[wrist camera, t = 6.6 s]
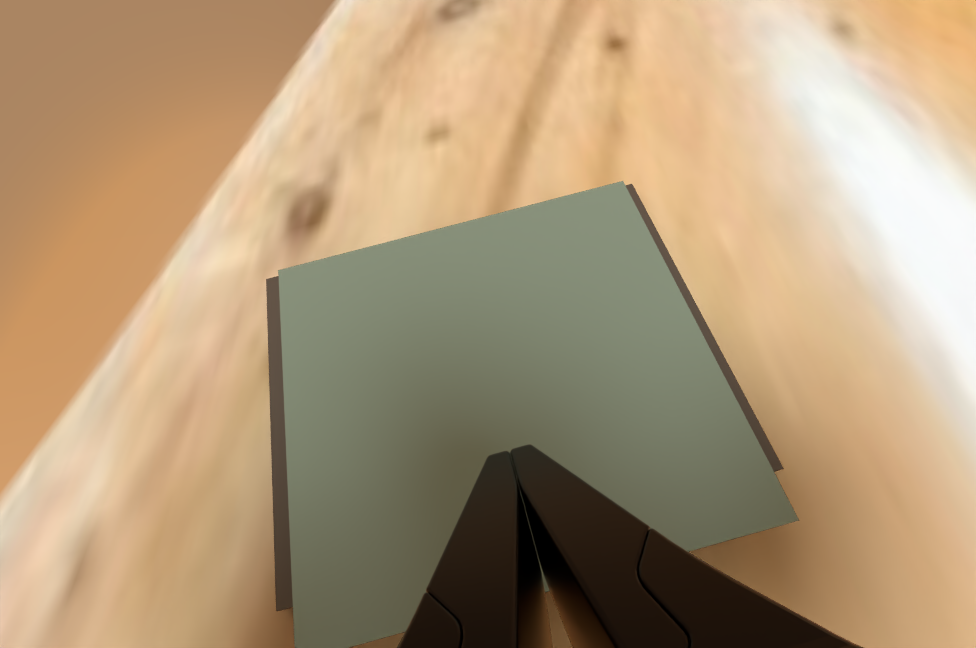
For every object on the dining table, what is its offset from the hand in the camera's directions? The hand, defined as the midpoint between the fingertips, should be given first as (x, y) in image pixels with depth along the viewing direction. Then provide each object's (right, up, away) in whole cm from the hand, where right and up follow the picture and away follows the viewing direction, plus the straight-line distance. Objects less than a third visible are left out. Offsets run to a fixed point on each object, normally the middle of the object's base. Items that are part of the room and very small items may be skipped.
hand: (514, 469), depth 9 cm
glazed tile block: (+1, -4, +3) cm, 5 cm away
